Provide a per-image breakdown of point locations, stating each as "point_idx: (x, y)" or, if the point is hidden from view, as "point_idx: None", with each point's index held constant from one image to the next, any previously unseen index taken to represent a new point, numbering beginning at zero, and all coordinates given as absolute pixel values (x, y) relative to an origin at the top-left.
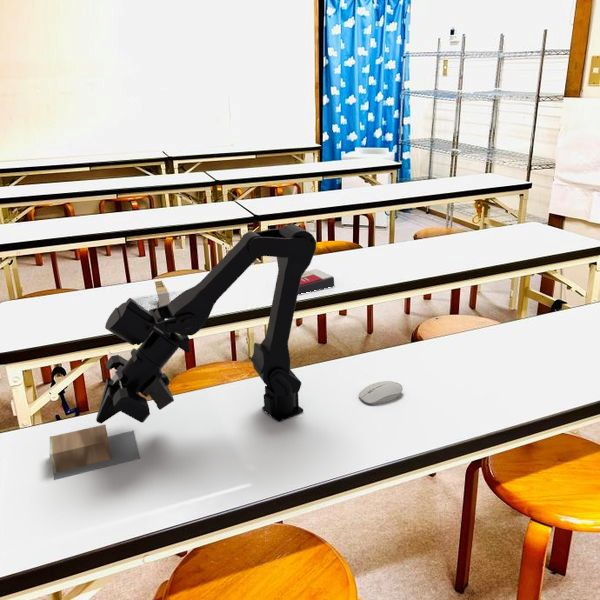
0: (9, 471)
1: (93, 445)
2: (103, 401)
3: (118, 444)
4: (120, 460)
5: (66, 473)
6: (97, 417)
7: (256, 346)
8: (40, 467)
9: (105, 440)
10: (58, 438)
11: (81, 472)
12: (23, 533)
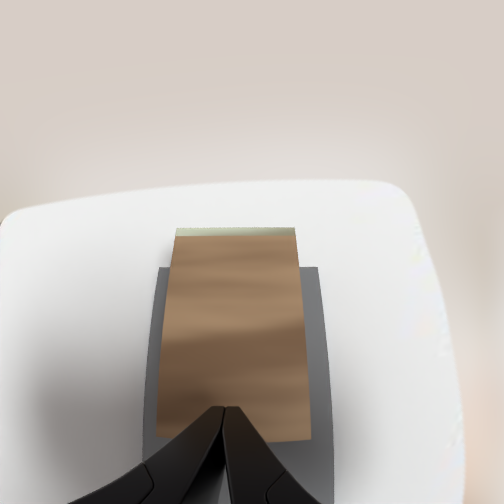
0: (262, 186)
1: (159, 377)
2: (166, 493)
3: None
4: None
5: None
6: (211, 414)
7: None
8: None
9: (165, 428)
10: (271, 253)
11: (151, 338)
12: (51, 223)
